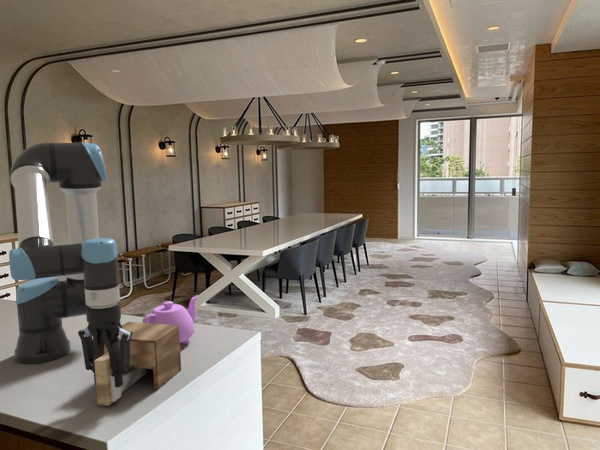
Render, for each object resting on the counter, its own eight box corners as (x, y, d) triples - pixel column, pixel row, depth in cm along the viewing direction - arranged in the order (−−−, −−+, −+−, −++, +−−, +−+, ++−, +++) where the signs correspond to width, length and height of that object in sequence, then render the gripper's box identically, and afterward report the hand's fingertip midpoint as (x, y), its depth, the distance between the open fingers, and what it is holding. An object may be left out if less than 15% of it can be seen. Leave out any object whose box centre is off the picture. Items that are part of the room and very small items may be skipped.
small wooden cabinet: (103, 384, 124) (100, 336, 122) (130, 365, 135) (128, 321, 134) (158, 390, 120) (155, 341, 118) (181, 369, 132) (178, 325, 130)
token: (110, 383, 125) (109, 374, 124) (123, 373, 130) (122, 365, 130) (130, 385, 123) (129, 376, 123) (142, 375, 129) (142, 366, 129)
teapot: (186, 328, 166) (184, 290, 165) (214, 337, 156) (213, 297, 155) (129, 346, 150) (126, 305, 148) (156, 359, 140) (154, 314, 138)
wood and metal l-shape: (108, 405, 110) (105, 361, 109) (97, 404, 111) (94, 360, 110) (149, 373, 128) (147, 334, 126) (140, 372, 129) (137, 333, 127)
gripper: (62, 306, 109) (70, 402, 112) (123, 310, 105) (130, 409, 108) (84, 298, 116) (91, 387, 119) (142, 301, 112) (147, 394, 115)
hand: (109, 397), depth 113 cm, fingers closed on wood and metal l-shape, 3 cm apart
